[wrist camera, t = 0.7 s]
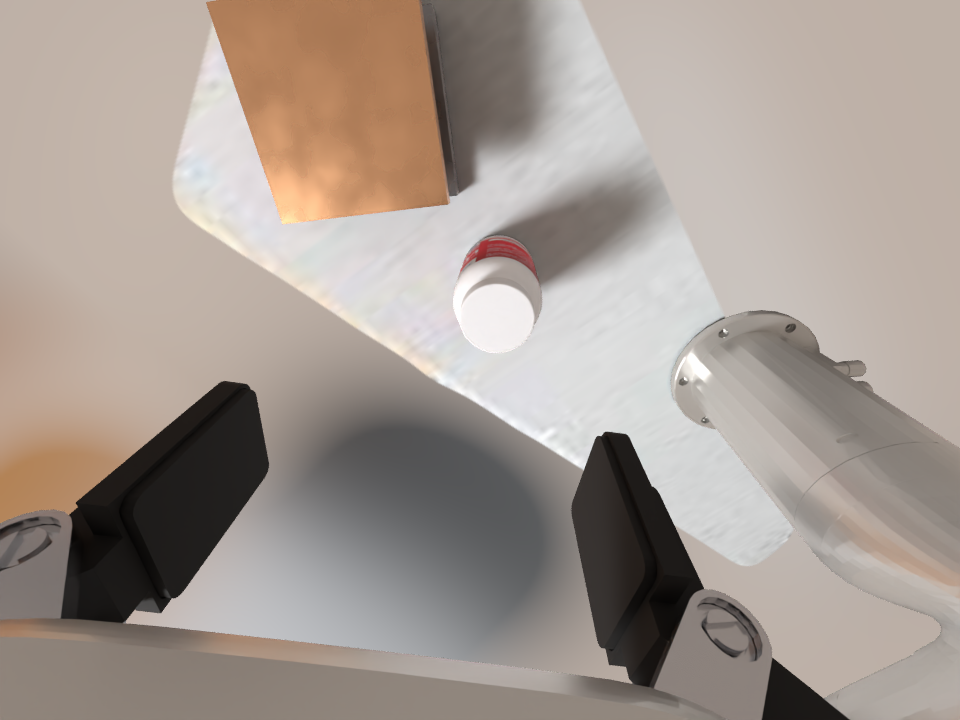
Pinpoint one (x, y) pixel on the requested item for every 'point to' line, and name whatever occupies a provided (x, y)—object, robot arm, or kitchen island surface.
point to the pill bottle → (497, 295)
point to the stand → (342, 102)
